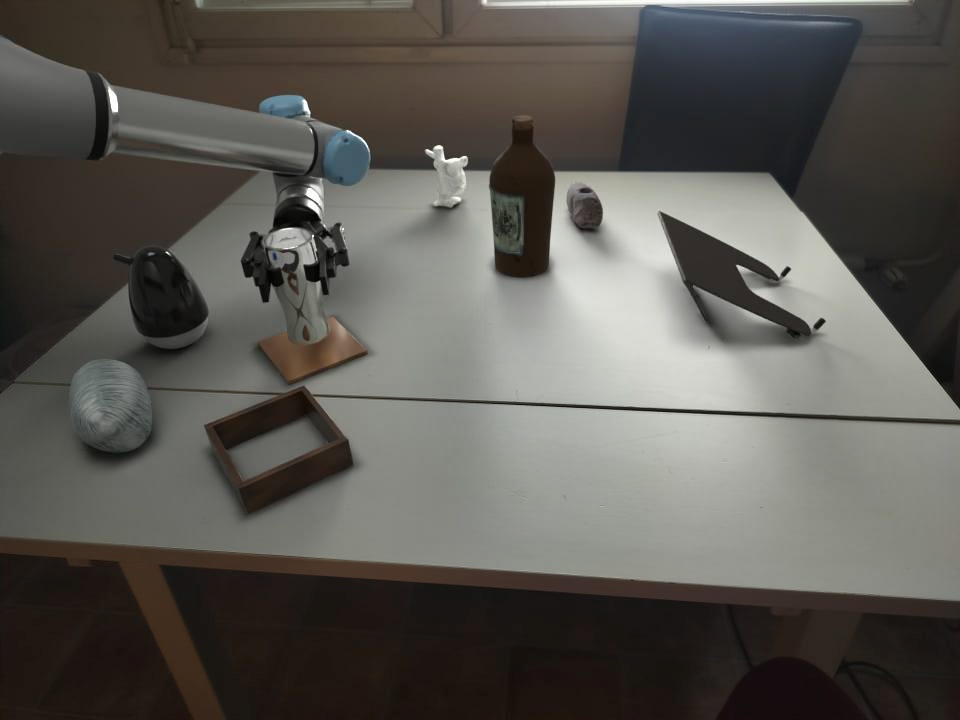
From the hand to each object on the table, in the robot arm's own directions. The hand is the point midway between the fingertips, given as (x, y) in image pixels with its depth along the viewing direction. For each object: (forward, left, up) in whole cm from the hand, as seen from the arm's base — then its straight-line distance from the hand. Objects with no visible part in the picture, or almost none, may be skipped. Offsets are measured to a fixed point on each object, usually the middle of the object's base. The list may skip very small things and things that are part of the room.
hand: (294, 289), depth 86 cm
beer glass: (+2, +5, -10) cm, 11 cm away
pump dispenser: (-13, +20, -13) cm, 27 cm away
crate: (-10, -14, -13) cm, 22 cm away
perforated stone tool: (+63, +15, -13) cm, 66 cm away
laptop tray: (+59, -24, -13) cm, 65 cm away
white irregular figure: (+47, +38, -13) cm, 61 cm away
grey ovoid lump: (-24, +3, -13) cm, 28 cm away
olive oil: (+42, +7, -13) cm, 44 cm away
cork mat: (+2, +5, -13) cm, 14 cm away
